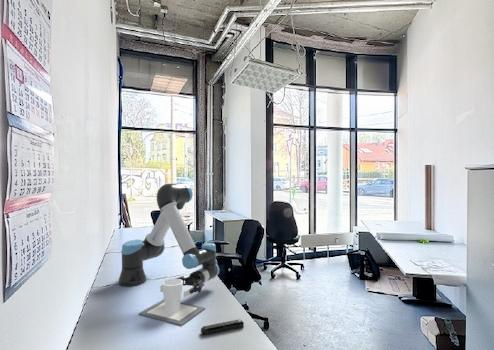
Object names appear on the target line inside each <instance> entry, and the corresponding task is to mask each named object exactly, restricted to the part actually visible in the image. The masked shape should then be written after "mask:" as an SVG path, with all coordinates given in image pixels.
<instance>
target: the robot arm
mask: <svg viewBox="0 0 494 350" xmlns="http://www.w3.org/2000/svg"><path fill="white" fill-rule="evenodd" d="M193 195H194V194H193V189H192V187H191V186H190V185H189V184H187V183H186V182H179V183H178V182H177V183H165V184H163V185H161V186H160V187H159V189H158V190H157V193H156V203H157V207H158V209H159V211H160V214H159V216H158V218H157V220H156V222H155V224H154V225H153V227H152V229H151V231H150V232H149V233H147V234H146V235H145V238H144V240H142V239H132V240H128V241H126V242H124V243H123V244H122V246H121V251H120V253H121V271H120V273H119V274H120V275H119V278H118V285H119V286H122V287H134V286H139V285H141V284H145V282H146V281H147V275H146V273H145V270H144V261H148V260H151V259H155V258H158V257H160V256H161V255H162V254H163V253H164V251H165V247H166V246H165V240H164V239H165V237H166V235H167V233H168V231H169V229H171V232H172V234H173V236H174V237H175V240H176V243H177V244H178V246H179V249H180V250H181V253H182V255H183V257H182V259H181V261H182V266H183V267H184V268H185V269H186V270H190V269H195V268H197V267H199V266H201V268H199V269H197V270H195V271H193V272H191V273H190V274H189V276H187V277H185V276H184V275H182V276H179V277H174V279H181V280H183V287H184V286H190V287H188V288H187V289H185V290H183V297H184V298H186V297H188V296H190V295H191V294H194V293H197V292H198V293H201V292H202V289H203V287H204V286H205V283H206V282H209V281H210V280H212V279H214V278H216V277H217V276H218V275H219V274H220V267H219V265H218V264H217V248H216V247H217V246H216V244H215V243H214V242H205V243H204V242H203V244H202V245H201V249H198V248H197V246H196V244H195V241H194V240H193V237H192V235H191V233H190V231H189V229H188V227H187V226H186V224H185V221H184V219H183V217H182V215H181V213H180V210H182V209H183V208H184V207H185V204H188V203H189V202H191V201H192V199H193ZM159 287H160V289H159V291H160V293H163V289H162V285H160V286H159Z"/></svg>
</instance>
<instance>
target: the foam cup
mask: <svg viewBox="0 0 494 350" xmlns="http://www.w3.org/2000/svg"><path fill="white" fill-rule="evenodd" d="M174 278H175V277H174ZM174 278H168V279H164V280H163V281H162V282H161V286H162V289H163V292H162V295H163V300H164V303H165V310H166V312H168V313H175V312H178V311H179V309H180V302H181V299H182V294H183V293H182V291H183V287H184V286H183V280H181V279H174Z"/></svg>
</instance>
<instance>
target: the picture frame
mask: <svg viewBox="0 0 494 350" xmlns="http://www.w3.org/2000/svg"><path fill="white" fill-rule="evenodd" d="M205 310H206V307H204V306H198V305H194V304H190V303H186V302H180V309H179V311H178V312H175V313H168V312H166V310H165V303H164V299H162V300H160V301H158V302H157V303H154V304H152V305H151V306H150V307H147V308H146V309H144V310H142V311H140V312H139V313H138V315H140V316H143V317H147V318H151V319H154V320H159V321H162V322H166V323H168V324H169V323H170V324H173V325H176V326H181V327H182V326H184V325H186V324H187V323H188V322H190V321H191V320H192V319H194V318H195V317H196V316H198V315H199V314H201V313H202V312H203V311H205Z"/></svg>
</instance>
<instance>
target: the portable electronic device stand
mask: <svg viewBox="0 0 494 350" xmlns="http://www.w3.org/2000/svg"><path fill="white" fill-rule="evenodd" d="M244 325H245V324H244V321H243V320H242V319H233V320H229V321H225V322H224V321H223V322H219V323H214V324H209V325H204V326H202V327H201V328H200V333H201V335H202V336H203V337H205V336H209V335H214V334H219V333H220V334H221V333H224V332H229V331H233V330H240V329H243V328H244Z"/></svg>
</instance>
